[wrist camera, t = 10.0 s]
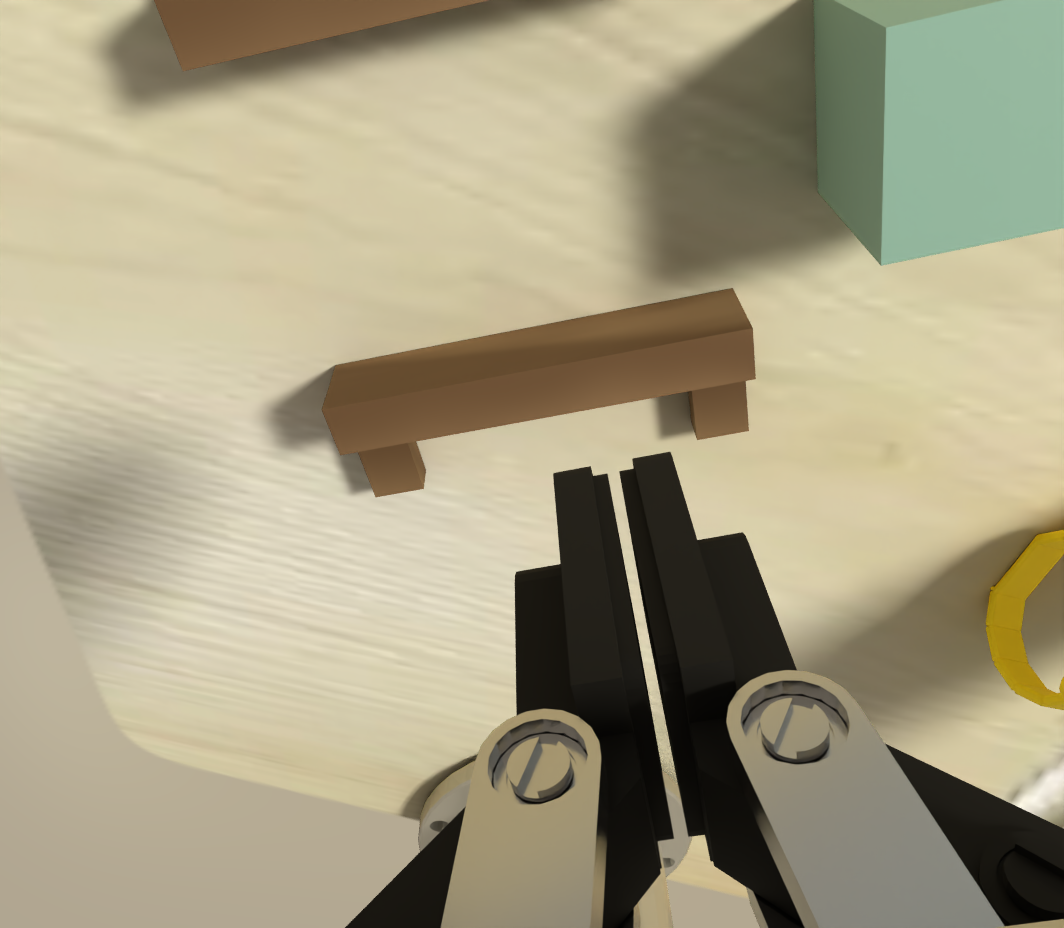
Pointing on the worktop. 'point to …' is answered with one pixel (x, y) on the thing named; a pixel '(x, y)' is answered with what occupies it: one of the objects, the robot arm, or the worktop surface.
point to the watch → (1009, 617)
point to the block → (940, 121)
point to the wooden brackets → (501, 359)
